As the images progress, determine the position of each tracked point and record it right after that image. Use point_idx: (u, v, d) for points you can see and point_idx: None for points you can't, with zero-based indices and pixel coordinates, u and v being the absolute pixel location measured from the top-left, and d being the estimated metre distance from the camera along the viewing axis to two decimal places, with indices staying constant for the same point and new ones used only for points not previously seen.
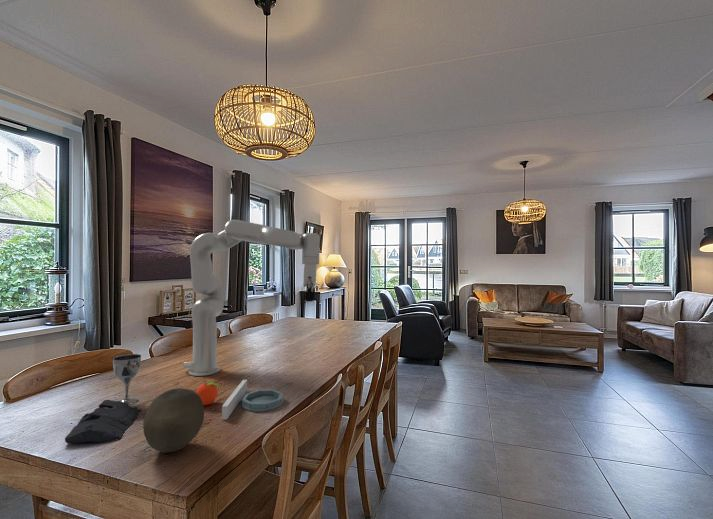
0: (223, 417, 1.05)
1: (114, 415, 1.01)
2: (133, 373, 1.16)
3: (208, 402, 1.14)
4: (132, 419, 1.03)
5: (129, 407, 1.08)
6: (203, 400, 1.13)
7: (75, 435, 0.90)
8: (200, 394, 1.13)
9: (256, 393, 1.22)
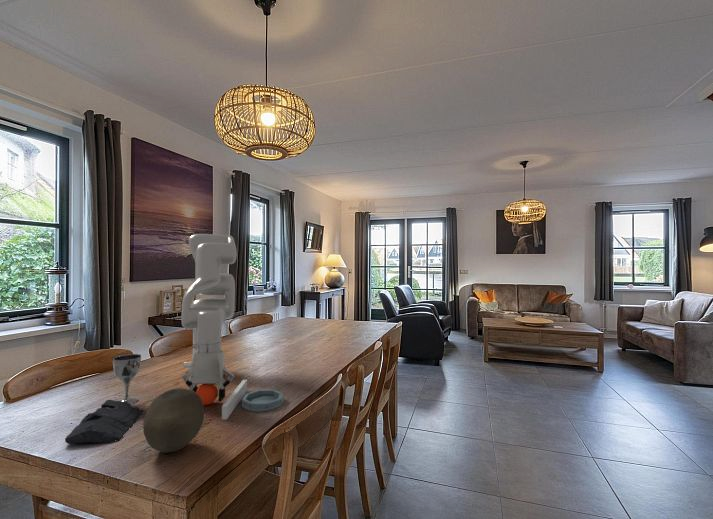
0: (223, 417, 1.05)
1: (116, 416, 1.01)
2: (133, 373, 1.16)
3: (208, 402, 1.14)
4: (133, 420, 1.03)
5: (131, 407, 1.08)
6: (203, 400, 1.13)
7: (75, 435, 0.90)
8: (200, 394, 1.13)
9: (256, 393, 1.22)
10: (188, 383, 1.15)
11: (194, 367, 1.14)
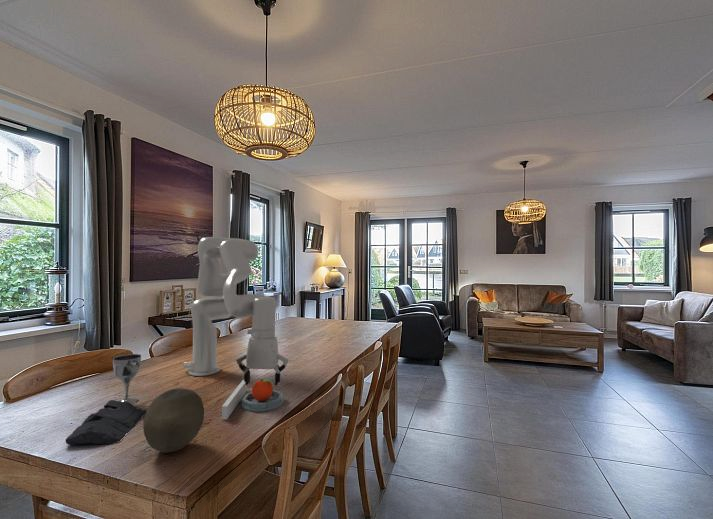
0: (223, 417, 1.05)
1: (117, 417, 1.00)
2: (133, 373, 1.16)
3: (265, 398, 1.15)
4: (135, 421, 1.02)
5: (133, 408, 1.08)
6: (260, 396, 1.15)
7: (75, 436, 0.89)
8: (257, 390, 1.15)
9: None
10: (241, 367, 1.17)
11: (250, 352, 1.15)
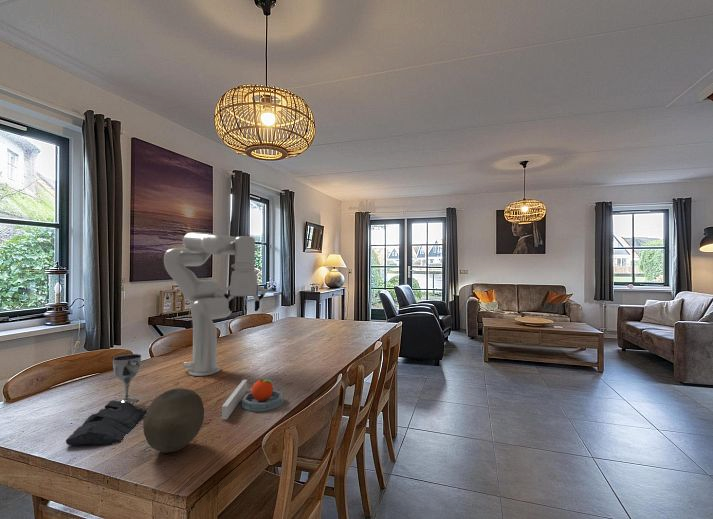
0: (223, 417, 1.05)
1: (118, 417, 1.00)
2: (133, 373, 1.16)
3: (265, 398, 1.15)
4: (135, 421, 1.02)
5: (134, 408, 1.07)
6: (260, 396, 1.15)
7: (76, 437, 0.89)
8: (257, 390, 1.15)
9: None
10: (226, 295, 1.37)
11: (233, 282, 1.35)
